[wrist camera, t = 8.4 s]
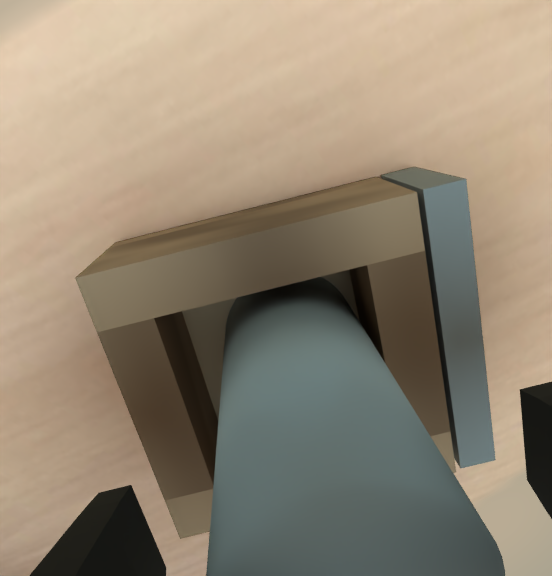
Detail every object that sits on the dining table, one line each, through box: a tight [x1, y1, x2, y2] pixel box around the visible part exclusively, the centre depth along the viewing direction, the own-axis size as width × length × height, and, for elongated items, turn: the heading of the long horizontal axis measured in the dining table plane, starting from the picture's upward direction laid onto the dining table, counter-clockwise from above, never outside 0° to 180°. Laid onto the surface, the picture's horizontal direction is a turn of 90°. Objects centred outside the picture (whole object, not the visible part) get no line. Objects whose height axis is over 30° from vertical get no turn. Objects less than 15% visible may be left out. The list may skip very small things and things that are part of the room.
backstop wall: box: [381, 167, 495, 468], centre depth 14 cm, size 1×8×4 cm, turn 14°
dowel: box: [206, 277, 505, 576], centre depth 10 cm, size 4×4×9 cm
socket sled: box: [75, 177, 456, 539], centre depth 14 cm, size 8×8×4 cm
